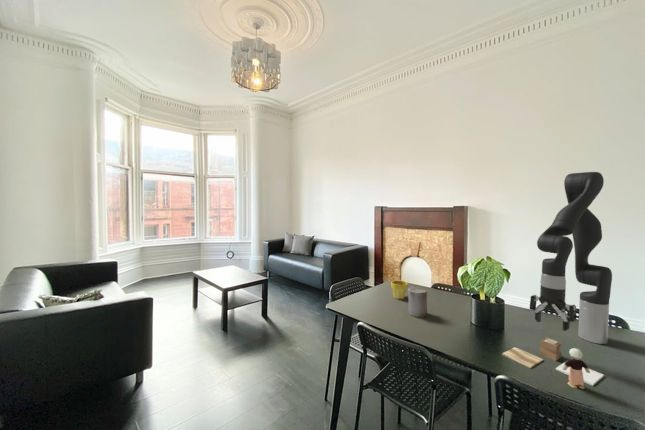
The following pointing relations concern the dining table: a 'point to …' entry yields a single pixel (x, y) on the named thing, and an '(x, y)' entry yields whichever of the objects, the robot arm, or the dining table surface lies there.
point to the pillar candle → (417, 301)
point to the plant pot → (399, 288)
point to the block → (550, 348)
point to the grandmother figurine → (576, 368)
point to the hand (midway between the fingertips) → (551, 325)
